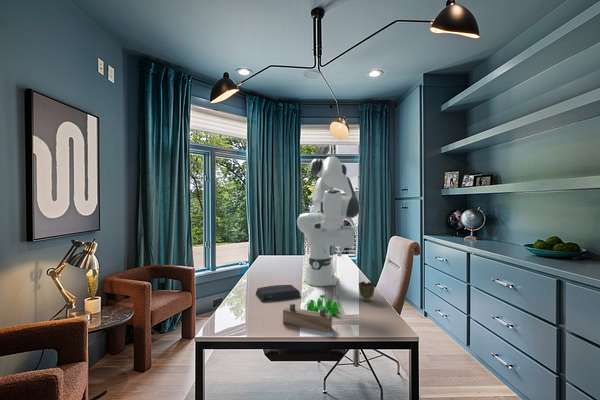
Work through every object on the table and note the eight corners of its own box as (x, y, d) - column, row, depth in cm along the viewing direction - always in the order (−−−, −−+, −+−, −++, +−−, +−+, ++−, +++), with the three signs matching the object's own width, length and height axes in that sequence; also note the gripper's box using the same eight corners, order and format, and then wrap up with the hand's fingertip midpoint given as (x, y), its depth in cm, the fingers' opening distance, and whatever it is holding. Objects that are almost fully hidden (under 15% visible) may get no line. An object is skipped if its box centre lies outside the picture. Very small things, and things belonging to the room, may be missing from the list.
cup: (375, 298, 147) (375, 281, 147) (374, 303, 140) (374, 286, 140) (359, 297, 149) (359, 280, 149) (357, 302, 142) (357, 284, 142)
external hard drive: (254, 295, 153) (255, 286, 153) (292, 291, 160) (292, 283, 160) (261, 303, 140) (261, 294, 140) (301, 298, 148) (301, 290, 148)
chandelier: (334, 305, 138) (335, 290, 138) (345, 318, 124) (345, 301, 123) (301, 307, 136) (301, 291, 136) (307, 320, 121) (308, 302, 121)
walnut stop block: (287, 319, 121) (287, 301, 121) (331, 327, 114) (332, 308, 114) (282, 323, 117) (283, 304, 117) (328, 332, 110) (328, 312, 110)
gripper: (356, 225, 140) (356, 256, 140) (314, 223, 149) (313, 252, 149) (353, 226, 135) (352, 258, 135) (309, 224, 143) (308, 254, 143)
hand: (331, 255), depth 142 cm, fingers open, 6 cm apart
